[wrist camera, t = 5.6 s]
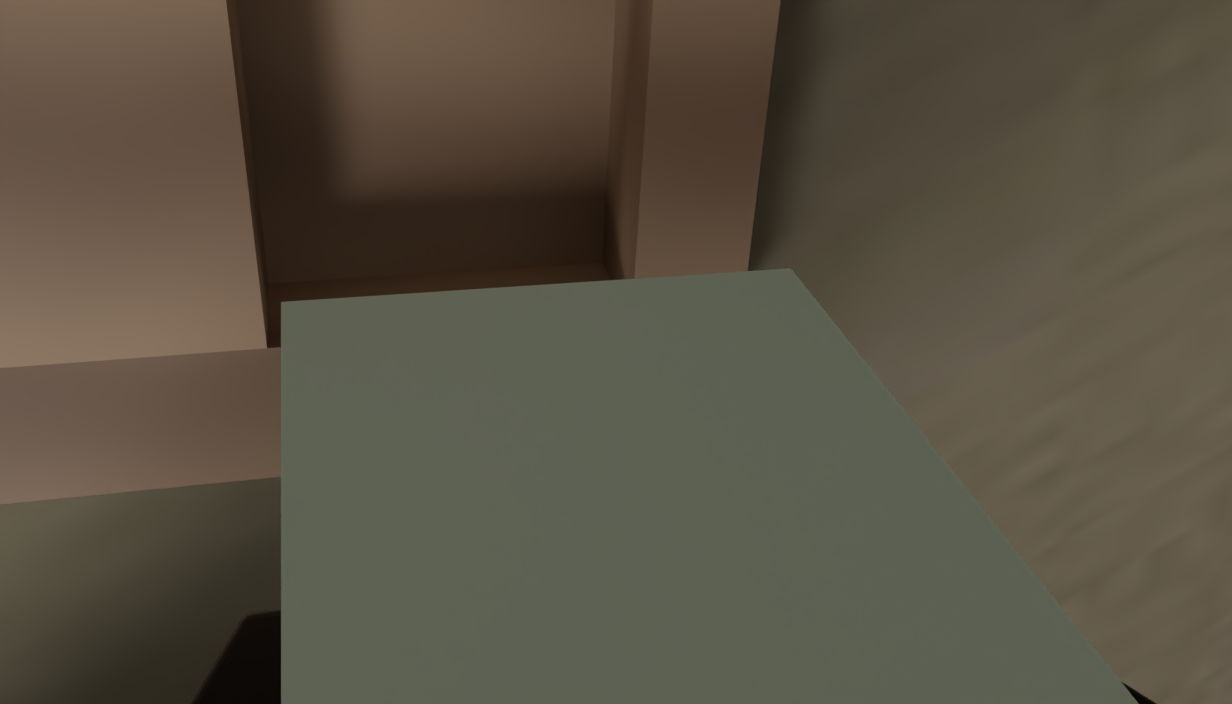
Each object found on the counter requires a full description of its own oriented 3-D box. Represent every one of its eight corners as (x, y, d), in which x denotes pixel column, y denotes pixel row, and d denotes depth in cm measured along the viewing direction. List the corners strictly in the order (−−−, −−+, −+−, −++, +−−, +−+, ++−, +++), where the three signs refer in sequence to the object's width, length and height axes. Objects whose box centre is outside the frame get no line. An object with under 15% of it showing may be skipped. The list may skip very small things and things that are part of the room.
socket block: (685, 356, 22) (735, 447, 19) (-462, 449, 18) (-579, 579, 15) (744, -249, 17) (821, -227, 14) (-857, -314, 13) (-1126, -300, 10)
